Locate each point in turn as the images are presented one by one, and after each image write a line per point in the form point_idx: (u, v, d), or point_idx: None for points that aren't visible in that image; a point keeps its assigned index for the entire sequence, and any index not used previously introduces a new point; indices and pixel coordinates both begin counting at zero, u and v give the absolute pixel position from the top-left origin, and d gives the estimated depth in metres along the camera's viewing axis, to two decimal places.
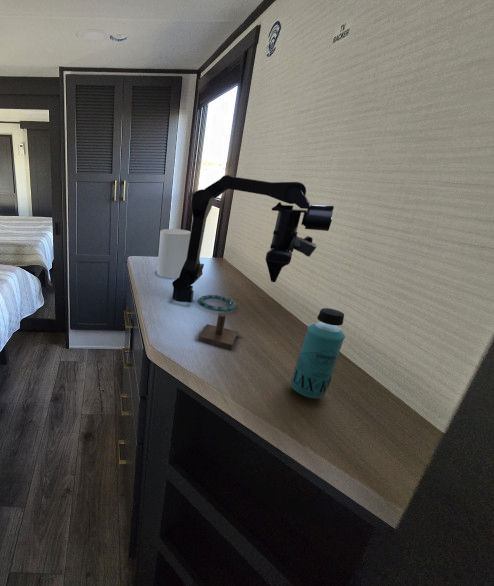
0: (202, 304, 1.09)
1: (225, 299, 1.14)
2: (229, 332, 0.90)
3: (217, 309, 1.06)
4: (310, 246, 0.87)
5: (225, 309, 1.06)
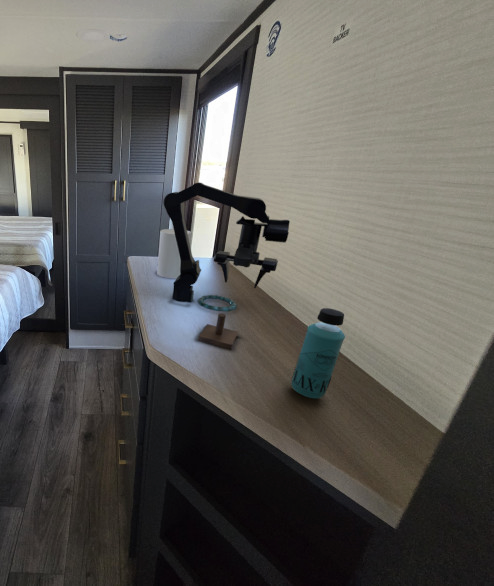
0: (202, 304, 1.09)
1: (225, 299, 1.14)
2: (229, 332, 0.90)
3: (217, 309, 1.06)
4: None
5: (225, 309, 1.06)
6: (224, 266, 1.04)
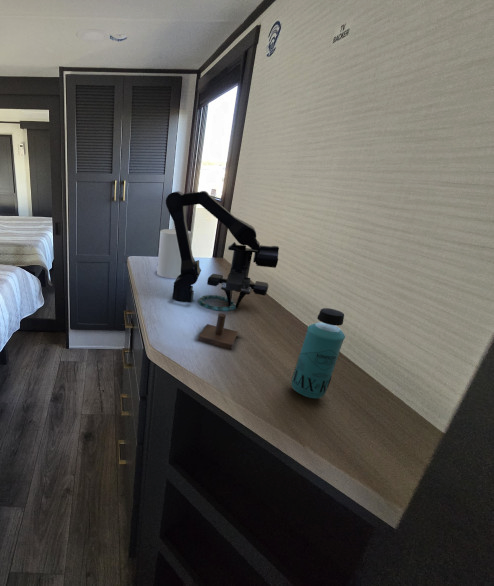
0: (202, 304, 1.09)
1: (225, 299, 1.14)
2: (229, 332, 0.90)
3: (217, 309, 1.06)
4: (226, 280, 1.01)
5: (225, 309, 1.06)
6: (228, 291, 1.06)
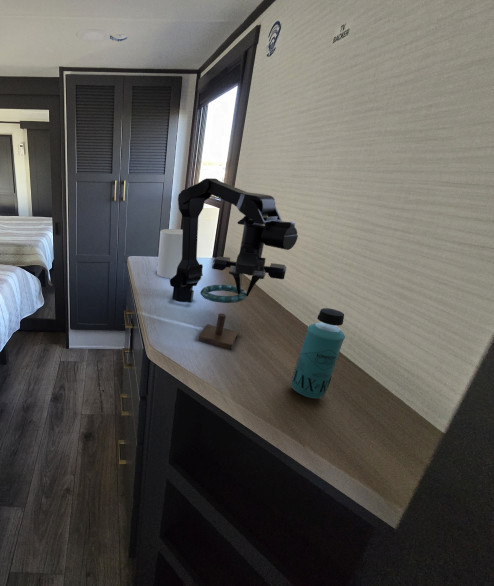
0: (206, 295, 0.92)
1: (233, 288, 0.97)
2: (229, 332, 0.90)
3: (224, 299, 0.89)
4: (236, 261, 0.83)
5: (234, 298, 0.88)
6: (237, 276, 0.89)
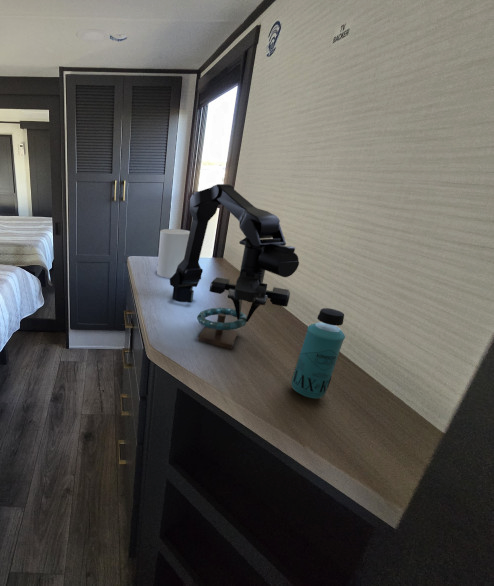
0: (202, 321, 0.86)
1: (232, 311, 0.90)
2: (229, 332, 0.90)
3: (222, 326, 0.82)
4: None
5: (233, 324, 0.82)
6: (236, 300, 0.82)
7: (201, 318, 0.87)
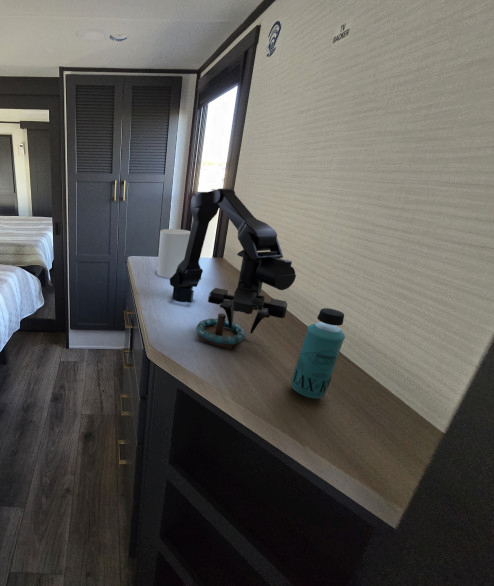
0: (202, 332, 0.87)
1: None
2: (229, 332, 0.90)
3: (221, 340, 0.83)
4: None
5: (231, 340, 0.83)
6: (228, 310, 0.84)
7: (201, 329, 0.88)
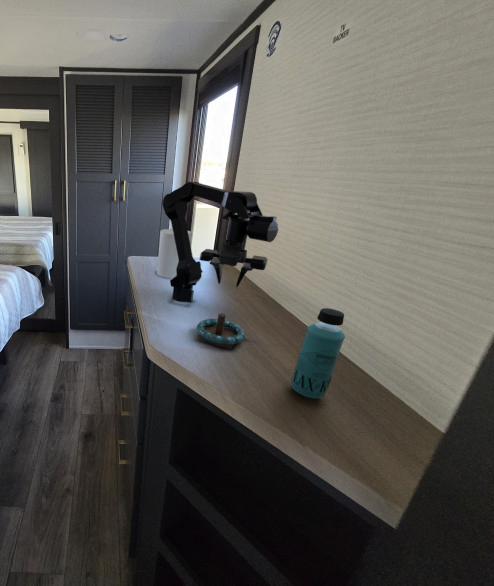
0: (202, 332, 0.87)
1: (231, 325, 0.91)
2: (229, 332, 0.90)
3: (221, 340, 0.83)
4: None
5: (231, 340, 0.83)
6: (217, 266, 0.96)
7: (201, 329, 0.88)
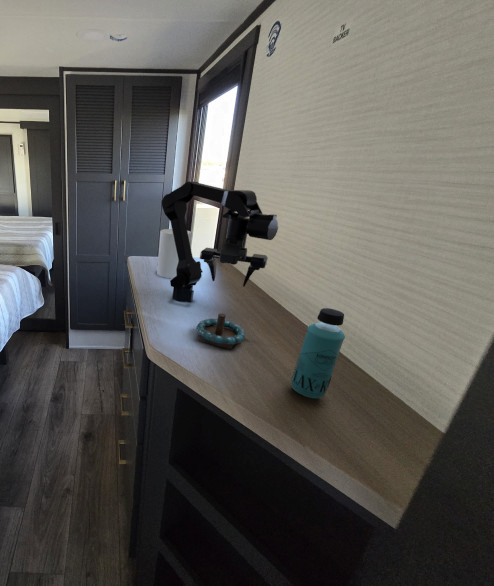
0: (202, 332, 0.87)
1: (231, 325, 0.91)
2: (229, 332, 0.90)
3: (221, 340, 0.83)
4: (220, 252, 0.90)
5: (231, 340, 0.83)
6: (211, 264, 0.97)
7: (201, 329, 0.88)
